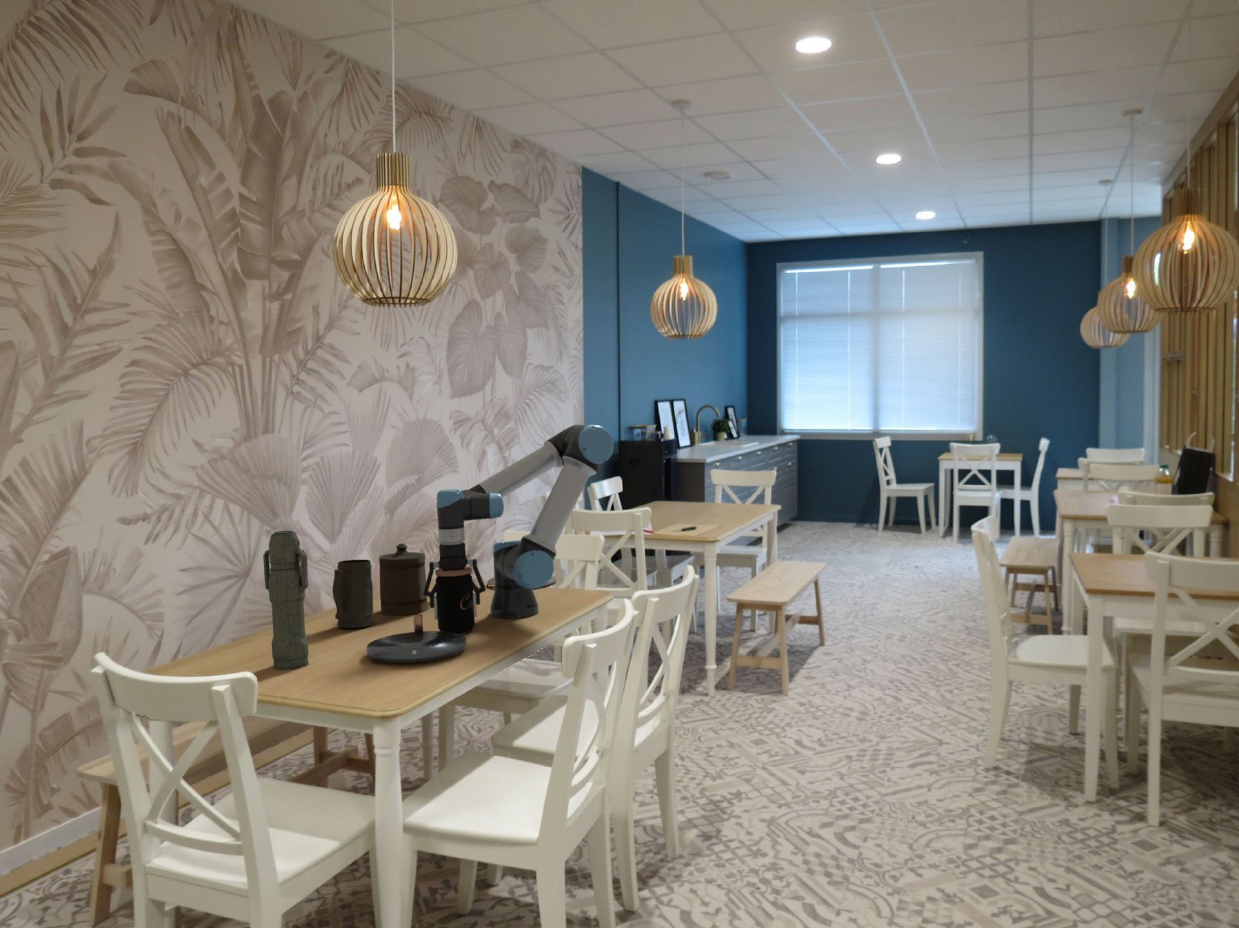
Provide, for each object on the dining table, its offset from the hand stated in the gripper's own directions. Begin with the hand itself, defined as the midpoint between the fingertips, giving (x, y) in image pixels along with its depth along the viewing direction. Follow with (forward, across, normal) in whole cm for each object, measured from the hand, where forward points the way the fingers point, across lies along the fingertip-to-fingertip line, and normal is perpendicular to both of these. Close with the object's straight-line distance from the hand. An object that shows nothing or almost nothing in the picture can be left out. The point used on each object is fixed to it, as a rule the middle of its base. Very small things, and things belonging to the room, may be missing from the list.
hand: (456, 617), depth 288 cm
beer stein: (+4, -31, +15) cm, 35 cm away
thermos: (+4, -42, -26) cm, 50 cm away
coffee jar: (+4, 0, 0) cm, 4 cm away
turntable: (+4, -10, -23) cm, 26 cm away
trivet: (+5, +23, +70) cm, 74 cm away
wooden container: (+4, -17, +35) cm, 39 cm away
